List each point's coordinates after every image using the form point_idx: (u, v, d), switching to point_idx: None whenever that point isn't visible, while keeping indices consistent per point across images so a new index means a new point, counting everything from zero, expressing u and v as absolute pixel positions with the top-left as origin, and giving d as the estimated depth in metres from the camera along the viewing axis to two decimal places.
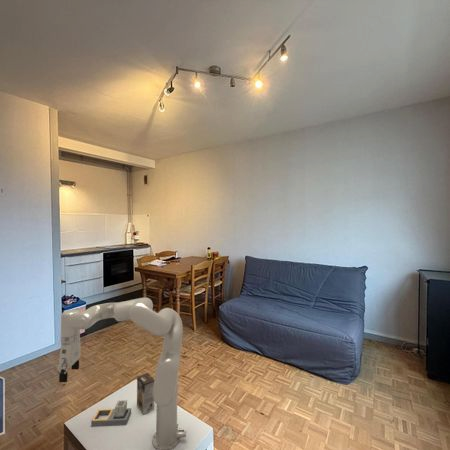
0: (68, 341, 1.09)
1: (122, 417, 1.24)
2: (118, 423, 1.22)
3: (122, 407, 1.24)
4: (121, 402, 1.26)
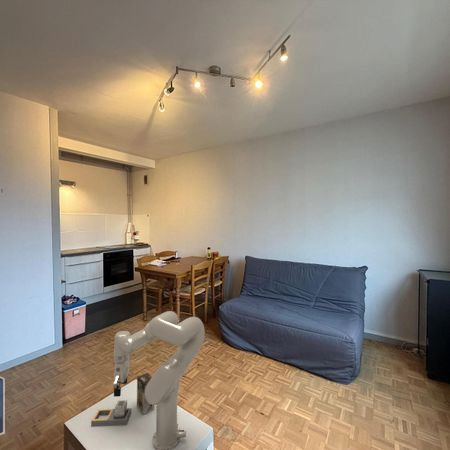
0: (121, 360, 1.23)
1: (122, 417, 1.24)
2: (118, 423, 1.22)
3: (122, 407, 1.24)
4: (121, 402, 1.26)
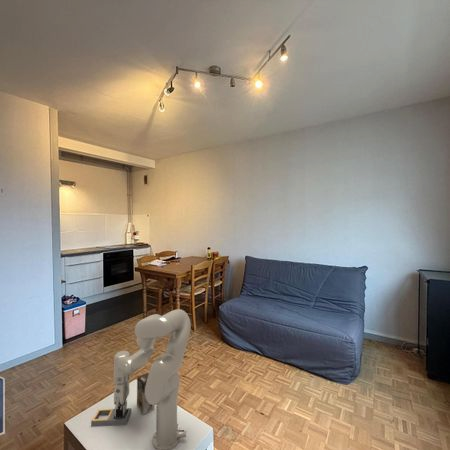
0: (121, 381, 1.22)
1: (122, 417, 1.24)
2: (118, 423, 1.22)
3: (122, 407, 1.24)
4: None
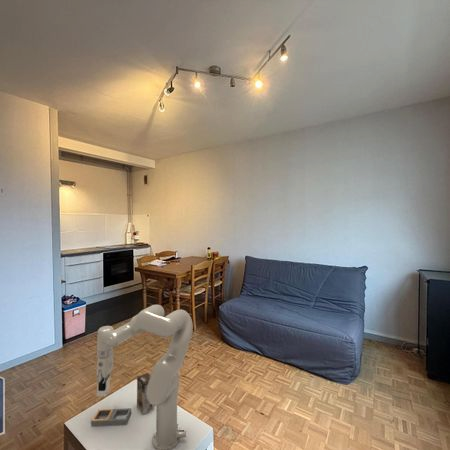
0: (104, 355, 1.22)
1: (104, 391, 1.23)
2: (118, 423, 1.22)
3: (105, 381, 1.23)
4: None
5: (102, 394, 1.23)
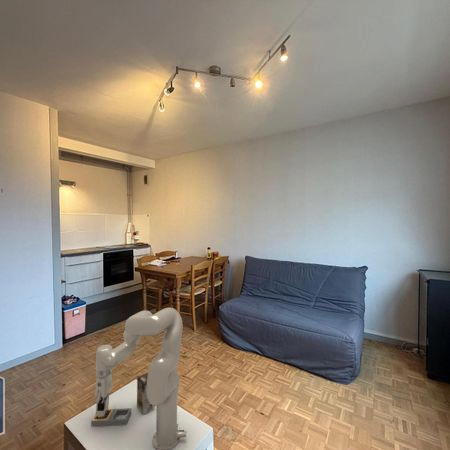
0: (103, 375, 1.22)
1: (103, 411, 1.23)
2: (118, 423, 1.22)
3: None
4: None
5: (101, 414, 1.23)
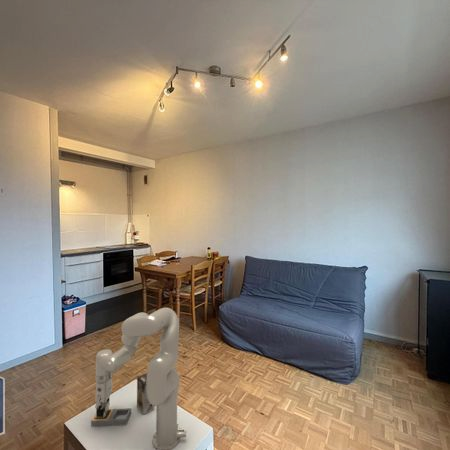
0: (103, 380, 1.22)
1: (103, 418, 1.23)
2: (118, 423, 1.22)
3: None
4: None
5: None
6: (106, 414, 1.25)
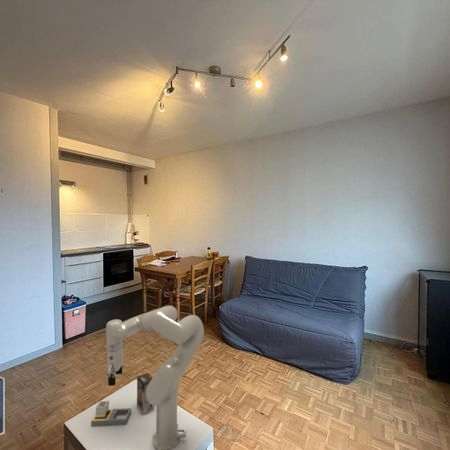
0: (114, 348, 1.21)
1: (103, 418, 1.23)
2: (118, 423, 1.22)
3: (103, 408, 1.23)
4: (102, 403, 1.25)
5: None
6: (106, 414, 1.25)
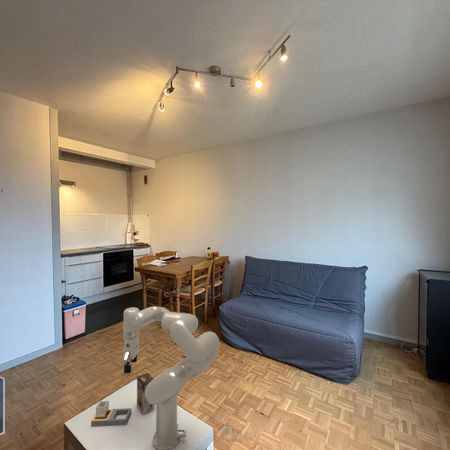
0: (131, 336, 1.20)
1: (103, 418, 1.23)
2: (118, 423, 1.22)
3: (103, 408, 1.23)
4: (102, 403, 1.25)
5: None
6: (106, 414, 1.25)
